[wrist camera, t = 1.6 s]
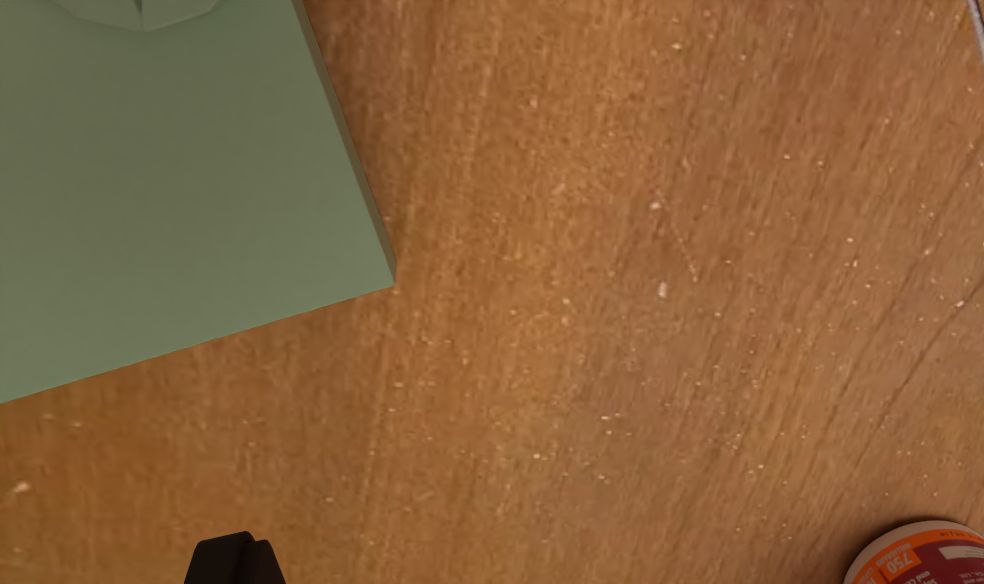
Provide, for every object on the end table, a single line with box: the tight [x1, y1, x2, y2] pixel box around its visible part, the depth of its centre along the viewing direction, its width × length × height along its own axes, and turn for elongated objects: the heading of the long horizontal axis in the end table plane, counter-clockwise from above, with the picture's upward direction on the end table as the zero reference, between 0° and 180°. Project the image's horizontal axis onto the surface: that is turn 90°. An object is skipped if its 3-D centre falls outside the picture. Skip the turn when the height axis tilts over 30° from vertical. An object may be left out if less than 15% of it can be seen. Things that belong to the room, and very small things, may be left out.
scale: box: [0, 0, 396, 404], centre depth 22 cm, size 16×14×4 cm
